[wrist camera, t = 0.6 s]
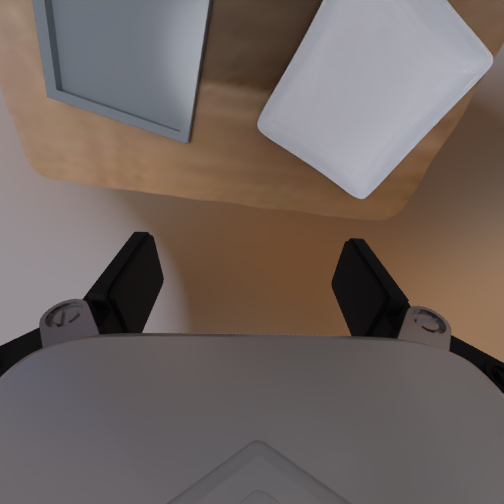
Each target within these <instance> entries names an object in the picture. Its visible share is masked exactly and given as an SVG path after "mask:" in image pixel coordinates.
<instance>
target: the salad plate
mask: <svg viewBox="0 0 504 504" xmlns="http://www.w3.org/2000/svg"><path fill="white" fill-rule="evenodd" d="M492 64H493V56H492V54H491V53H490V51H489V50H488V49H487V47H486V46H485V45H484V44H483V42H482V41H481V40H480V39H479V38H478V37H477V35H476V34H475V33H474V32H473V31H472V29H471V28H470V27H469V26H468V25H467V24H466V23H465V21H464V20H463V19H462V18H461V17H460V15H459V14H458V13H457V12H456V11H455V9H454V8H453V7H452V6H451V5H450V3H449V2H448V1H447V0H323V2H322V4H321V6H320V8H319V10H318V11H317V13H316V15H315V17H314V19H313V21H312V23H311V25H310V27H309V29H308V31H307V33H306V35H305V36H304V38H303V40H302V42H301V44H300V46H299V47H298V49H297V51H296V53H295V55H294V56H293V58H292V60H291V62H290V64H289V65H288V67H287V69H286V71H285V72H284V74H283V76H282V77H281V79H280V81H279V83H278V84H277V86H276V88H275V90H274V91H273V93H272V95H271V96H270V98H269V100H268V101H267V103H266V105H265V107H264V109H263V110H262V112H261V114H260V116H259V119H258V122H257V127H258V129H259V131H260V132H261V133H262V134H264V135H265V136H266V137H267V138H269V139H270V140H272V141H273V142H275V143H277V144H278V145H280V146H281V147H283V148H284V149H286V150H287V151H289V152H290V153H292V154H294V155H295V156H297V157H298V158H300V159H301V160H303V161H304V162H306V163H307V164H309V165H310V166H312V167H313V168H315V169H316V170H318V171H319V172H321V173H322V174H323V175H325V176H326V177H327V178H329V179H330V180H332V181H333V182H334V183H336V184H337V185H338V186H340V187H341V188H342V189H344V190H345V191H346V192H348V193H349V194H351V195H352V196H354V197H356V198H358V199H364V198H366V197H367V196H368V195H369V194H370V193H371V192H372V191H373V190H374V189H375V188H376V187H377V186H378V185H379V184H380V183H381V182H382V181H383V180H384V179H385V178H386V177H387V176H388V175H389V173H390V172H391V171H392V170H393V169H394V168H395V167H396V166H397V165H398V164H399V163H400V162H401V161H402V159H403V158H404V157H405V156H406V155H407V154H408V153H409V152H410V151H411V150H412V149H413V148H414V147H415V146H416V145H417V144H418V143H419V141H420V140H421V139H422V138H423V137H424V136H425V135H426V134H427V133H428V132H429V131H430V130H431V129H432V128H433V127H434V126H435V125H436V124H437V123H438V122H439V121H440V120H441V119H442V118H443V117H444V115H445V114H446V113H447V112H448V111H449V110H450V109H451V108H452V107H453V106H454V105H455V104H456V103H457V102H458V101H459V100H460V99H461V98H462V97H463V96H464V95H465V94H466V93H467V92H468V91H469V90H470V89H471V88H472V87H473V86H474V85H475V84H476V82H477V81H478V80H479V79H480V78H481V77H482V76H483V75H484V74H485V73H486V72H487V71H488V69H489V68H490V67H491V65H492Z"/></svg>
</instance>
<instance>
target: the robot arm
mask: <svg viewBox="0 0 504 504" xmlns="http://www.w3.org/2000/svg"><path fill="white" fill-rule="evenodd" d="M163 280H164V278H163V273H162V269H161V265H160V261H159V258H158V253H157V249H156V245H155V242H154V237H153V236H152V235H150V234H149V233H148V232H134V233H133V234H132V236H131V237H130V238H129V240H128V241H127V242H126V243H125V245H124V246H123V247H122V249H121V250H120V251H119V253H118V254H117V255H116V256H115V258H114V259H113V260H112V262H111V263H110V264H109V266H108V267H107V268H106V269H105V271H104V272H103V273H102V275H101V276H100V277H99V279H98V280H97V281H96V283H95V284H94V285H93V286H92V288H91V289H90V290H89V291H88V293H87V294H86V296H85V297H84V298H83V299H71V300H67V301H63V302H60V303H58V304H56V305H54V306H53V307H51V308H50V309H48V311H46V312H45V313H44V314H43V316H42V317H41V319H40V322H39V328H37V329H35V330H33V331H31V332H29V333H27V334H25V335H23V336H20V337H19V338H16V339H14V340H12V341H10V342H8V343H6V344H4V345H1V346H0V504H504V363H503V362H501V361H499V360H497V359H495V358H493V357H491V356H490V355H488V354H486V353H484V352H482V351H480V350H478V349H477V348H475V347H473V346H471V345H469V344H467V343H465V342H464V341H462V340H460V339H458V338H456V337H454V336H452V335H451V327H450V325H449V323H448V322H447V321H446V320H445V319H444V318H443V317H442V316H441V315H440V314H438V313H437V312H435V311H433V310H431V309H428V308H426V307H422V306H412V307H411V306H410V305H409V303H408V301H409V300H408V299H407V297H406V296H405V295H404V293H403V292H402V291H401V289H400V288H399V287H398V285H397V284H396V283H395V281H394V280H393V278H392V277H391V276H390V275H389V273H388V272H387V270H386V269H385V267H384V266H383V265H382V264H381V262H380V261H379V259H378V258H377V257H376V255H375V254H374V253H373V251H372V250H371V249H370V247H369V246H368V244H367V243H366V242H365V240H364V239H356V238H351V239H349V241H346V242H345V244H344V247H343V250H342V253H341V255H340V258H339V261H338V264H337V267H336V270H335V273H334V276H333V279H332V289H333V291H334V294H335V296H336V299H337V301H338V303H339V306H340V309H341V311H342V313H343V316H344V318H345V321H346V323H347V326H348V328H349V331H350V333H351V336H323V335H273V334H272V335H270V334H202V333H201V334H200V333H142V331H143V329H144V327H145V324H146V322H147V320H148V317H149V315H150V313H151V310H152V308H153V306H154V303H155V301H156V299H157V296H158V294H159V292H160V289H161V287H162V285H163Z"/></svg>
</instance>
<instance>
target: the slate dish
mask: <svg viewBox="0 0 504 504" xmlns="http://www.w3.org/2000/svg"><path fill="white" fill-rule="evenodd" d="M32 2H33V8H34V15H35V21H36V27H37V34H38V40H39V47H40V53H41V59H42V66H43V72H44V79H45V85H46V91H47V97H49V98H52V99H55V100H58V101H61V102H64V103H67V104H70V105H73V106H76V107H78V108H81V109H84V110H87V111H90V112H93V113H96V114H99V115H102V116H105V117H108V118H111V119H114V120H117V121H120V122H123V123H126V124H129V125H132V126H135V127H138V128H141V129H144V130H147V131H150V132H153V133H156V134H159V135H162V136H165V137H167V138H170V139H173V140H176V141H179V142H182V143H185V144H188V143H189V142H190V138H191V131H192V125H193V119H194V112H195V106H196V100H197V94H198V87H199V81H200V75H201V68H202V62H203V56H204V50H205V43H206V37H207V31H208V24H209V18H210V12H211V5H212V0H32Z"/></svg>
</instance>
